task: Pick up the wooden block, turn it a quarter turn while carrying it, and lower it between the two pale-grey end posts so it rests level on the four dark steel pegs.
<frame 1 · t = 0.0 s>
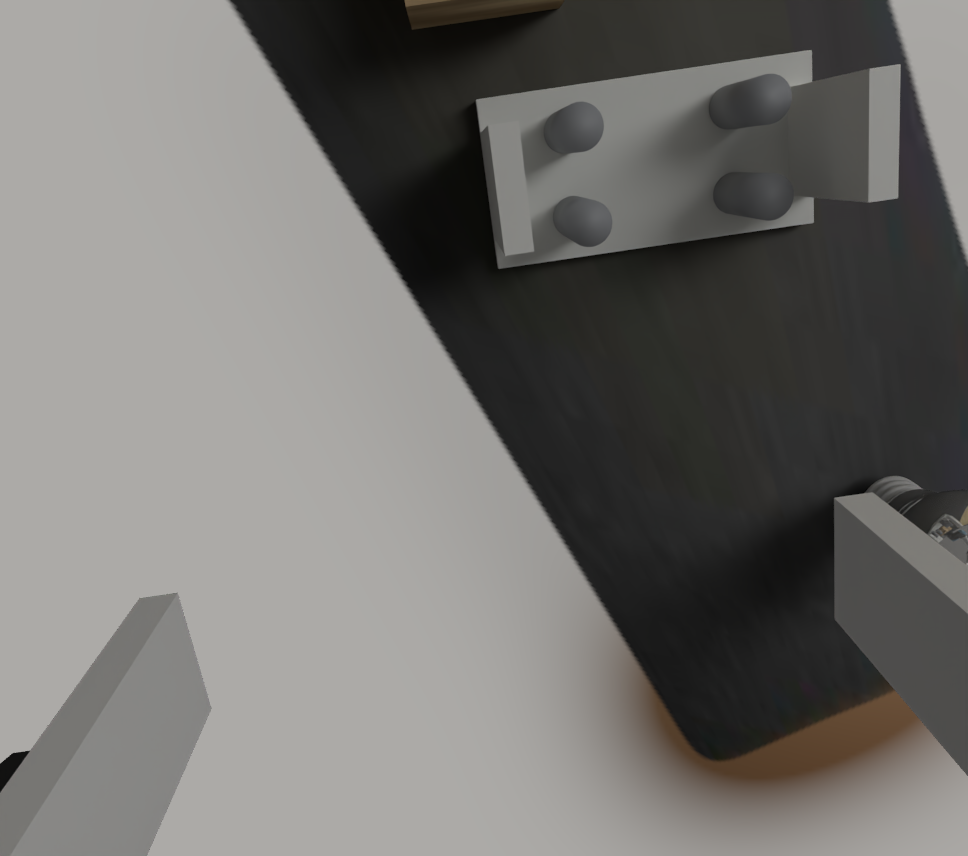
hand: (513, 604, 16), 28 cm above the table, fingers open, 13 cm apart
light bulb: (877, 493, 47), on the table
peg stand: (645, 163, 41), on the table
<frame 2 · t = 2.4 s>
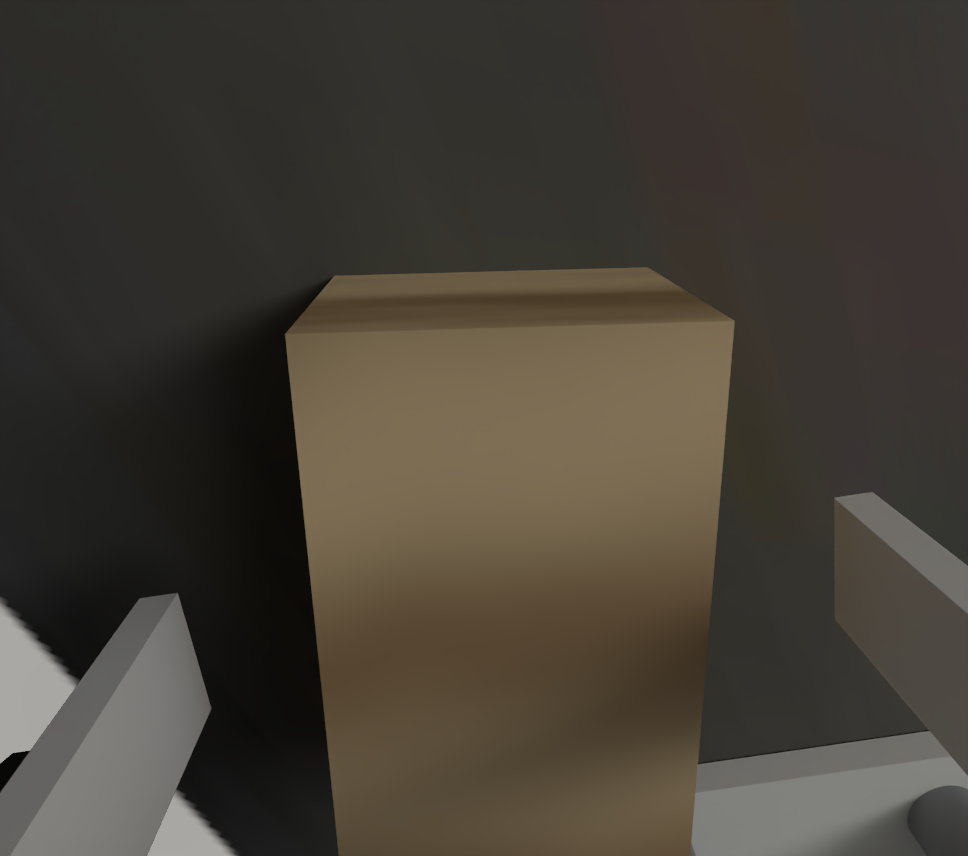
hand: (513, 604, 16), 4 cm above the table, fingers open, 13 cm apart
wooden block: (495, 494, 20), on the table
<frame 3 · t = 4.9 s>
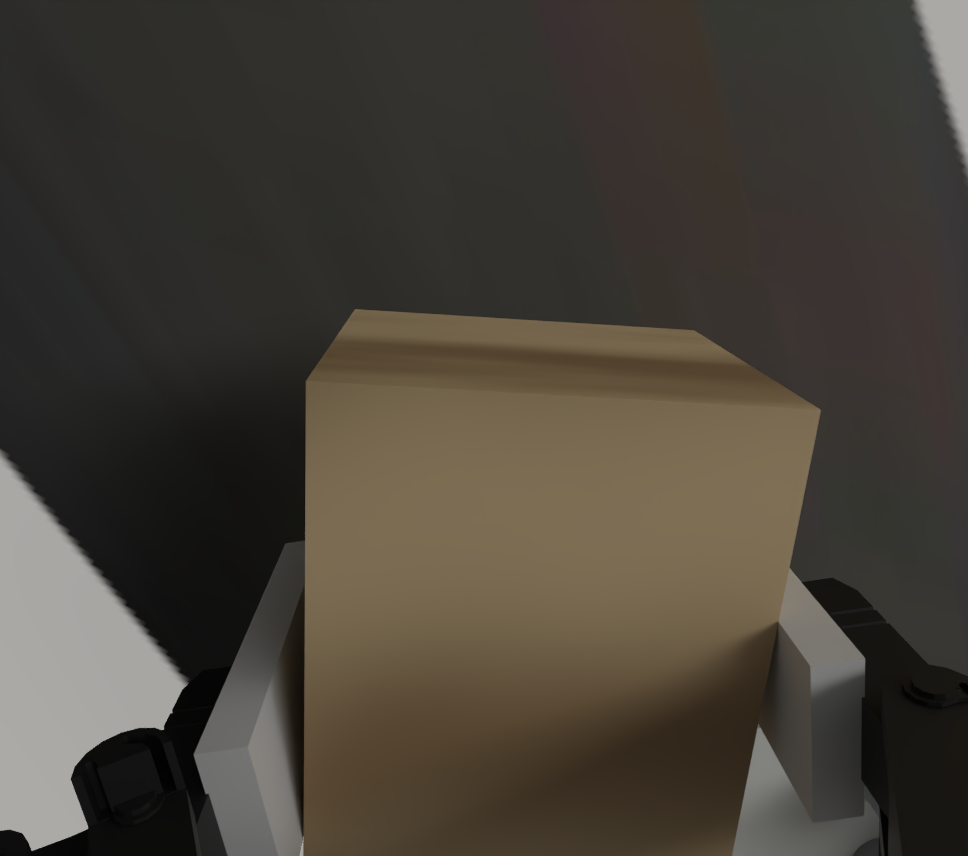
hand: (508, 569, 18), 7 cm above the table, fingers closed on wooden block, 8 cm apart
wooden block: (506, 562, 18), point 6 cm above the table, touching gripper
peg stand: (750, 808, 28), on the table
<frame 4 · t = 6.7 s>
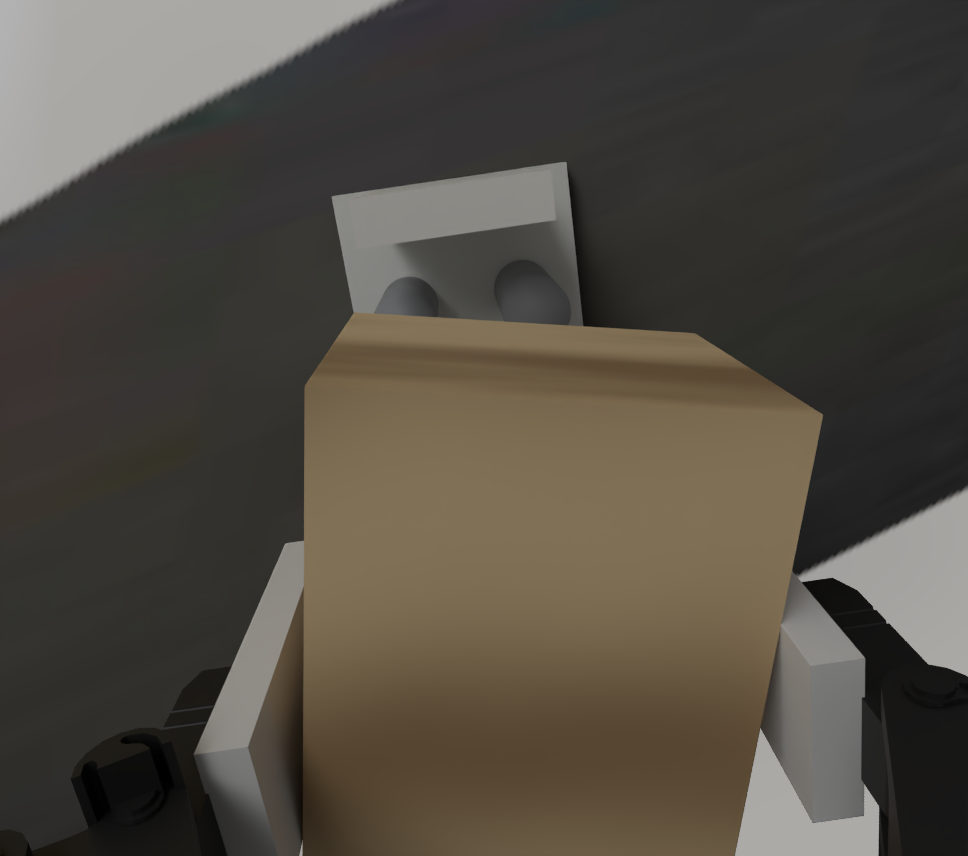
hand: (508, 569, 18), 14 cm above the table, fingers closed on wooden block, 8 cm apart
wooden block: (506, 566, 18), point 13 cm above the table, touching gripper
peg stand: (480, 397, 31), on the table
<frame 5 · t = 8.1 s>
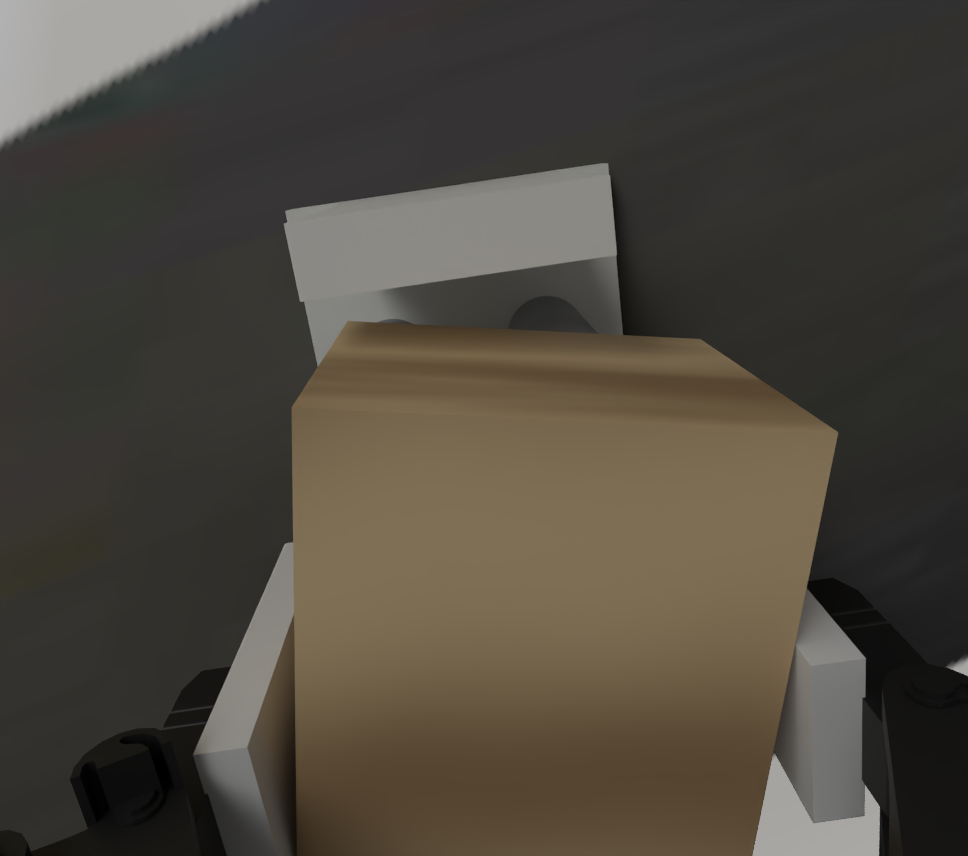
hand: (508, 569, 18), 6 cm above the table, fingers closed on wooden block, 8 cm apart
wooden block: (507, 579, 18), point 6 cm above the table, touching gripper, peg stand
peg stand: (489, 473, 23), on the table
when the fingers open (6 cm above the table, at t = 8.8 s): wooden block stays where it is, resting on peg stand.
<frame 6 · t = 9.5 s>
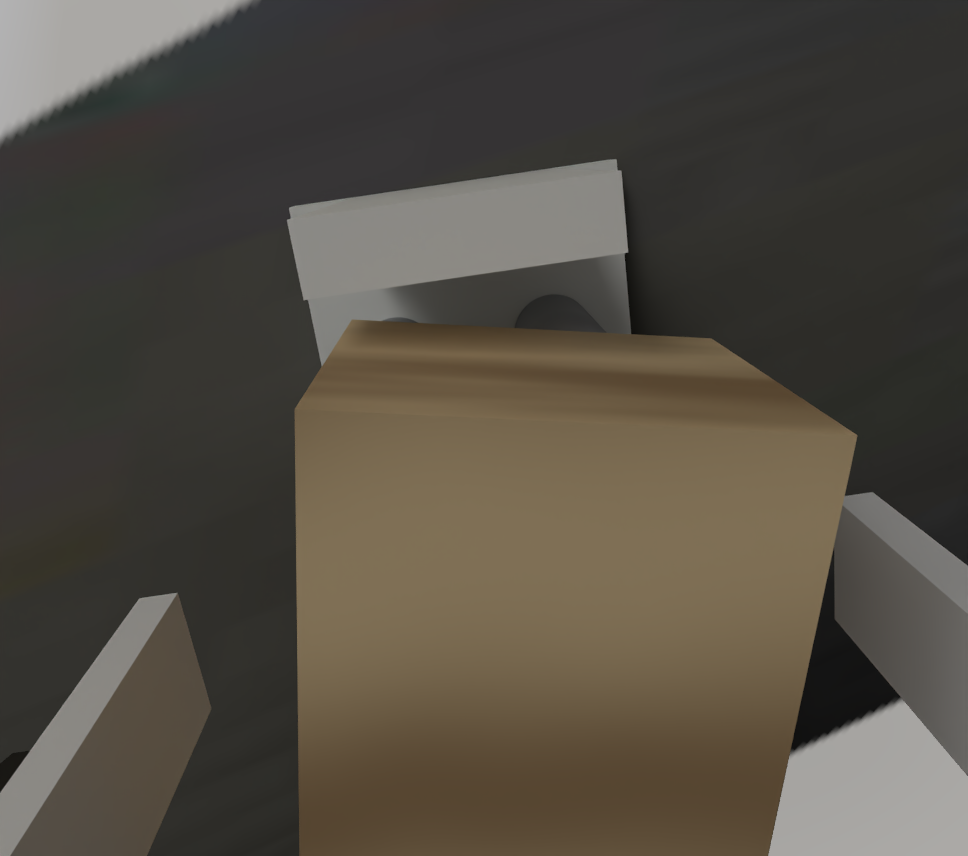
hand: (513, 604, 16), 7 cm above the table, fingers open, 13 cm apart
wooden block: (513, 582, 17), point 6 cm above the table, touching peg stand
peg stand: (494, 474, 23), on the table
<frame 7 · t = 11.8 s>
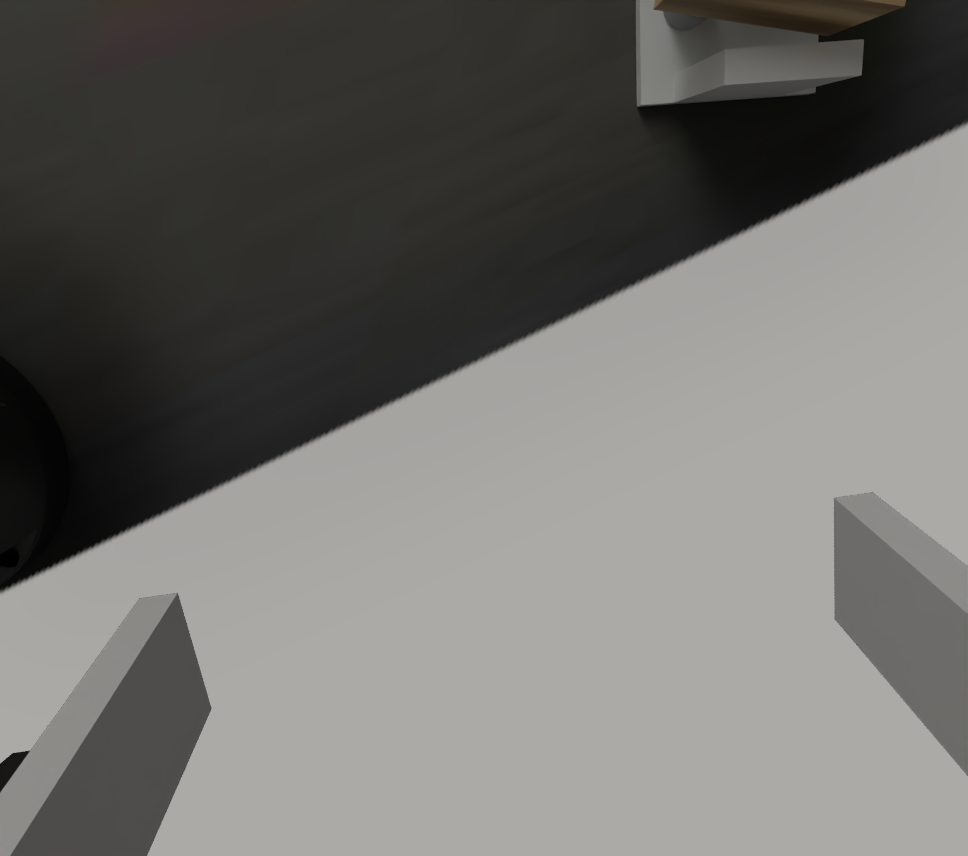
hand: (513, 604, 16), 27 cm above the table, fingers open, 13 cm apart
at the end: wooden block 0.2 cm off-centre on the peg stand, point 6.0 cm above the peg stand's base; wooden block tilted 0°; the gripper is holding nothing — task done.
